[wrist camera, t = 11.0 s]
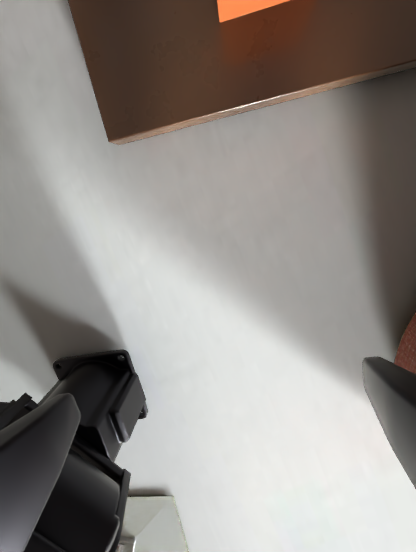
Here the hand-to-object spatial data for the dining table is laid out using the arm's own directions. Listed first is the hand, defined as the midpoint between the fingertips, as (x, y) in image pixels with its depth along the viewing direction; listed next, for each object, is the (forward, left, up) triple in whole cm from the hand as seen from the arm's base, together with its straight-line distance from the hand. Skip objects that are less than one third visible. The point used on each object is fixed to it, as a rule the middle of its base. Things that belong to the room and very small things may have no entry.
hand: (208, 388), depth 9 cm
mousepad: (-22, -29, -12) cm, 38 cm away
